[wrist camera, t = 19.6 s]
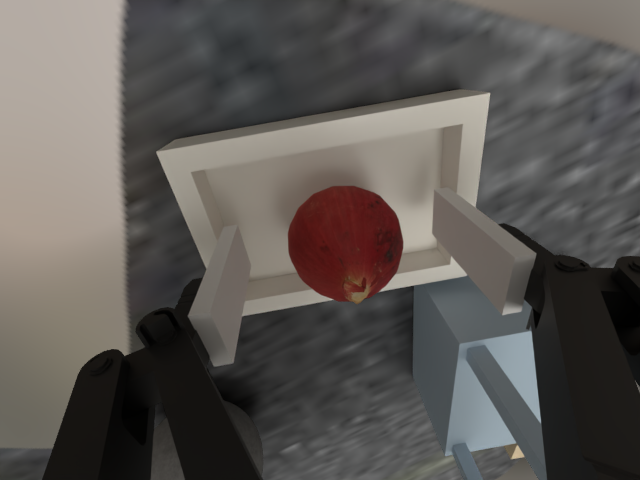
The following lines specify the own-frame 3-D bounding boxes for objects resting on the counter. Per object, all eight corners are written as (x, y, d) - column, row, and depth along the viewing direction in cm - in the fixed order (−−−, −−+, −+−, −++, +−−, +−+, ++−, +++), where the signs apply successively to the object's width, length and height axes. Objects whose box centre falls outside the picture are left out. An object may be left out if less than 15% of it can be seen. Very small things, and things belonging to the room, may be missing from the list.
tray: (234, 291, 22) (227, 318, 20) (175, 139, 16) (156, 151, 14) (447, 253, 22) (466, 276, 20) (460, 88, 17) (490, 92, 14)
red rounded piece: (367, 152, 17) (421, 209, 10) (389, 233, 20) (444, 322, 13) (273, 188, 18) (263, 266, 11) (308, 262, 20) (318, 362, 14)
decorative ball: (165, 437, 31) (118, 582, 22) (152, 374, 26) (83, 529, 17) (264, 434, 32) (255, 569, 23) (269, 374, 27) (260, 517, 19)
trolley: (412, 384, 30) (537, 706, 15) (413, 269, 23) (665, 675, 8) (530, 363, 30) (773, 662, 15) (570, 241, 23) (1128, 589, 8)
